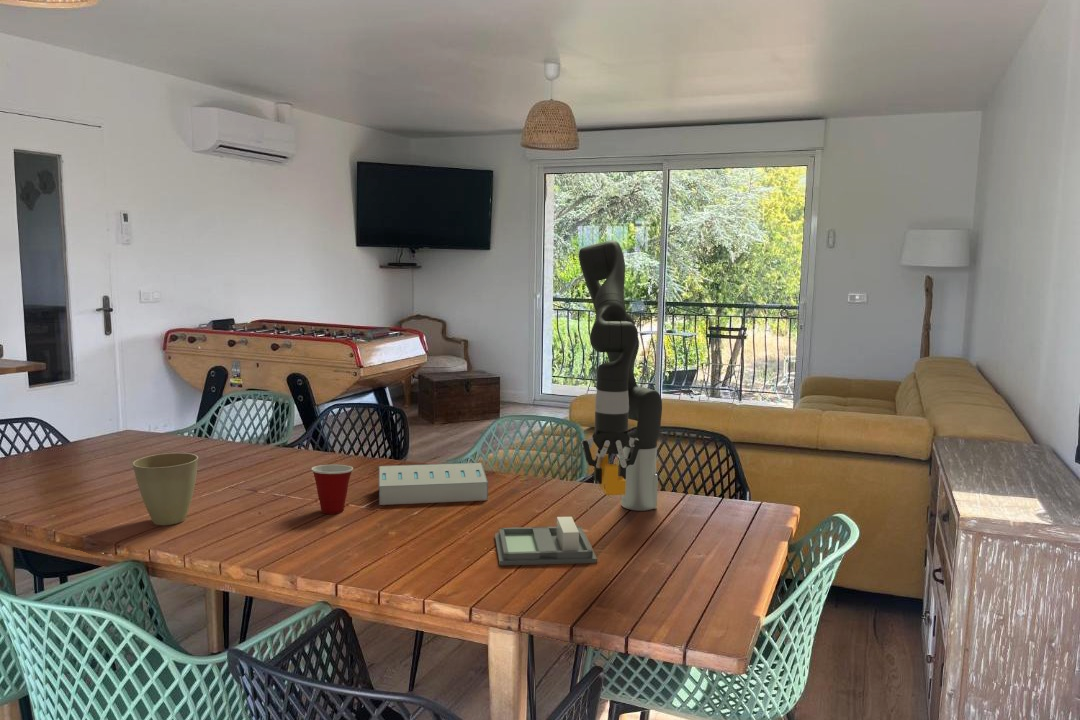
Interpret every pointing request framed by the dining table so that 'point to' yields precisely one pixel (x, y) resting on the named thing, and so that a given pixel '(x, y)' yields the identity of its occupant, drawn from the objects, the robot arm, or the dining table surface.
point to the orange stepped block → (611, 479)
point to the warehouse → (432, 483)
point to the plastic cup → (332, 486)
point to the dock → (544, 545)
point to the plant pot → (167, 485)
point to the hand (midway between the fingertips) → (609, 482)
